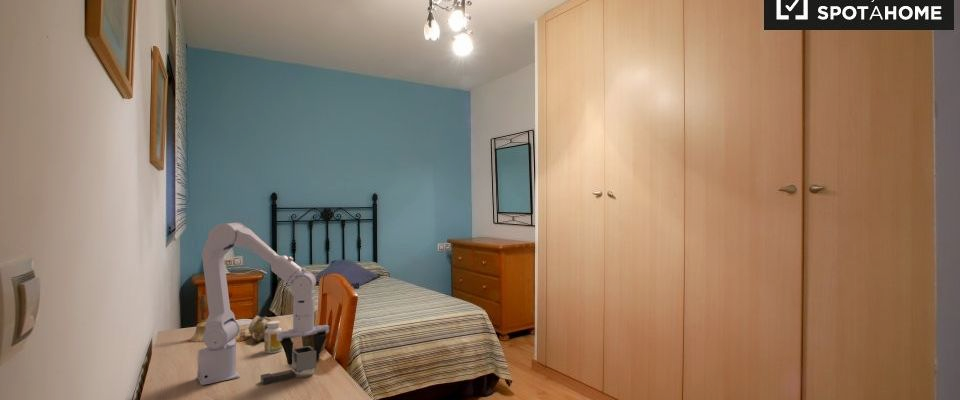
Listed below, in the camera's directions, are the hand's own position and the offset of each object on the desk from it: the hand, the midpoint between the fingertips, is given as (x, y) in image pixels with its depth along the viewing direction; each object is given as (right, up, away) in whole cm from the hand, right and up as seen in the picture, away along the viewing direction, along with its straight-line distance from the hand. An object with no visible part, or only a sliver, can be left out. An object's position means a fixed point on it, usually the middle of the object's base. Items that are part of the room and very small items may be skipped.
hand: (303, 360), depth 134 cm
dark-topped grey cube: (0, -2, 0) cm, 2 cm away
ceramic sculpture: (-28, -4, +34) cm, 44 cm away
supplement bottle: (-18, -4, +20) cm, 27 cm away
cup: (-2, -4, +13) cm, 14 cm away
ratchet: (-3, -4, -3) cm, 6 cm away
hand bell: (-49, -4, +33) cm, 60 cm away
